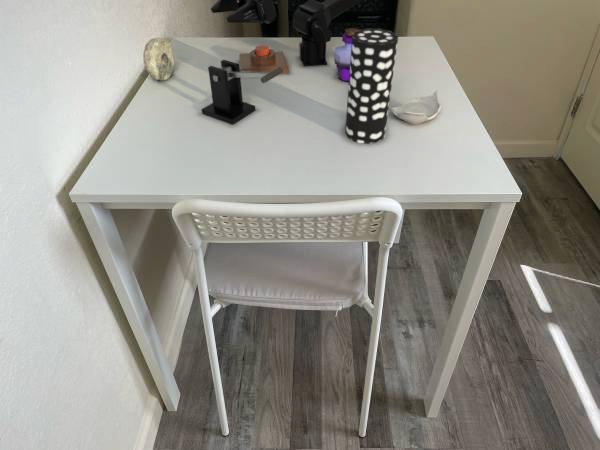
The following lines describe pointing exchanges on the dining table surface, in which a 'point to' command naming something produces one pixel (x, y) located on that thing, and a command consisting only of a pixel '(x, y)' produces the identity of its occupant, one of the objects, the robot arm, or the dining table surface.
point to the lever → (253, 74)
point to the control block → (263, 62)
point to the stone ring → (158, 58)
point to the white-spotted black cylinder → (370, 84)
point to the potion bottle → (344, 55)
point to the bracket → (226, 95)
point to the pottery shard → (419, 109)
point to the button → (262, 50)
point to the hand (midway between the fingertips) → (219, 15)
